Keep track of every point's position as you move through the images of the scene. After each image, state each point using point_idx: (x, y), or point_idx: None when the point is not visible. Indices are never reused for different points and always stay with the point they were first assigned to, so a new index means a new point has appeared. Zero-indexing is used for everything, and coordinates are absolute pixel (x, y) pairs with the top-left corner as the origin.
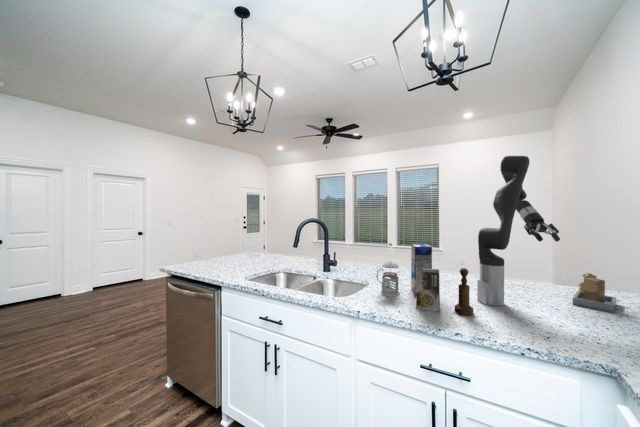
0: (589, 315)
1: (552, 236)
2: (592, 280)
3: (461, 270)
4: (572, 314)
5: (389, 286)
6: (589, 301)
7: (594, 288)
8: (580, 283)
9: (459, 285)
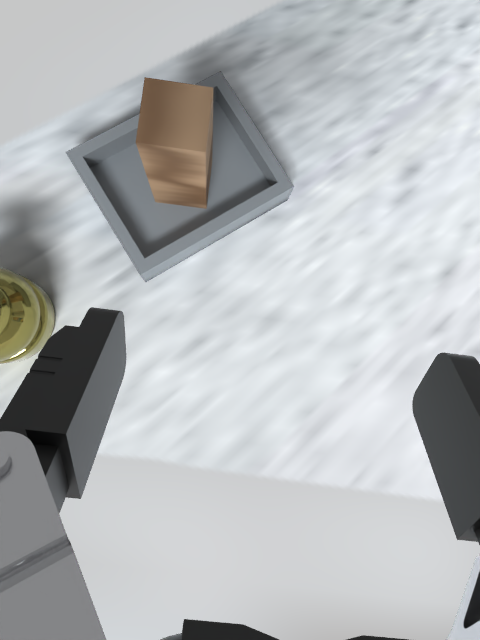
0: (348, 94)
1: (86, 469)
2: (211, 102)
3: None
4: (404, 114)
5: None
6: (262, 138)
7: (212, 118)
8: (17, 339)
9: None
